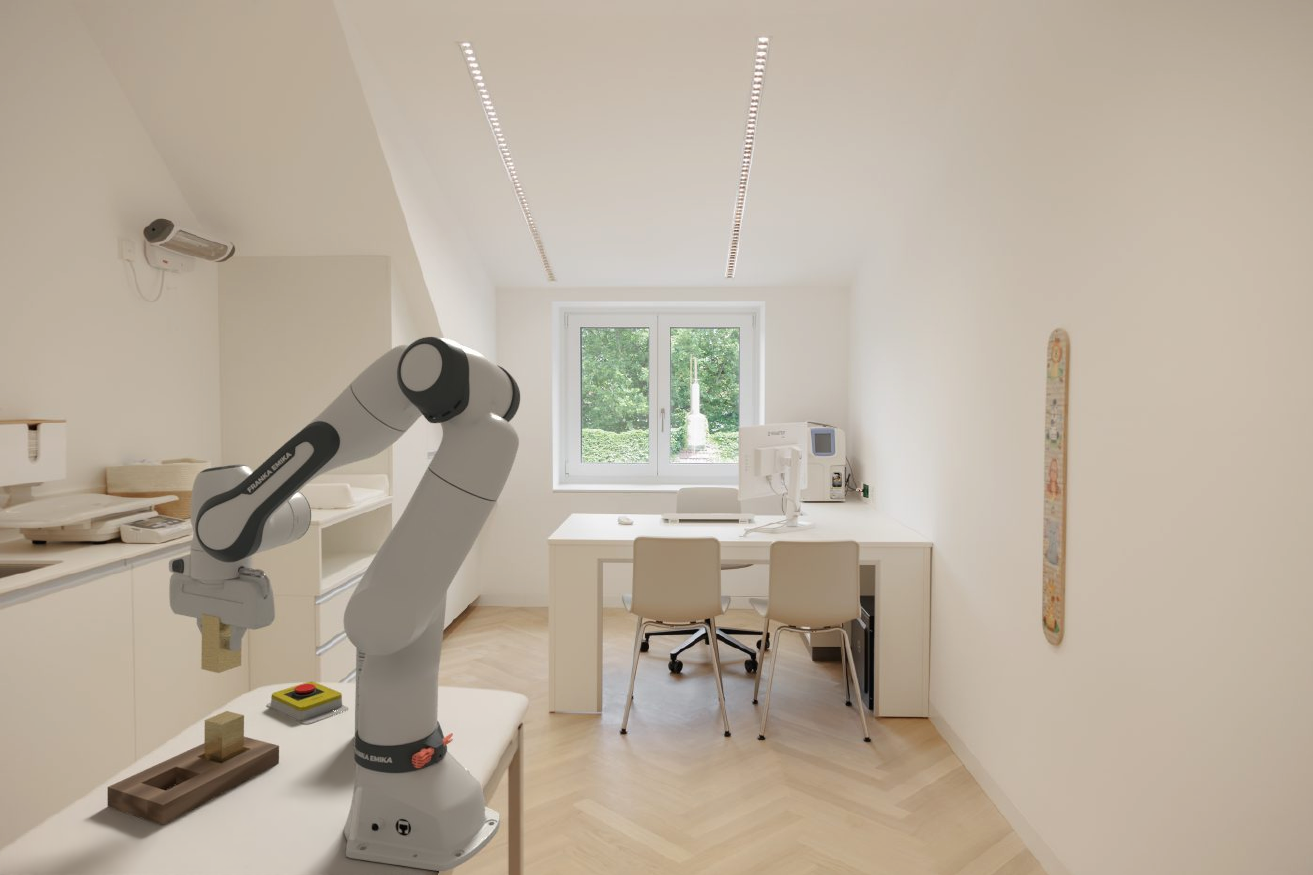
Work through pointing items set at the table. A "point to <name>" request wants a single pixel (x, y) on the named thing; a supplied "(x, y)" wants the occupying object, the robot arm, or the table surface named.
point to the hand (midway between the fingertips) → (221, 647)
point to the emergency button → (307, 702)
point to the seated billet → (224, 737)
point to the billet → (217, 646)
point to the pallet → (188, 781)
